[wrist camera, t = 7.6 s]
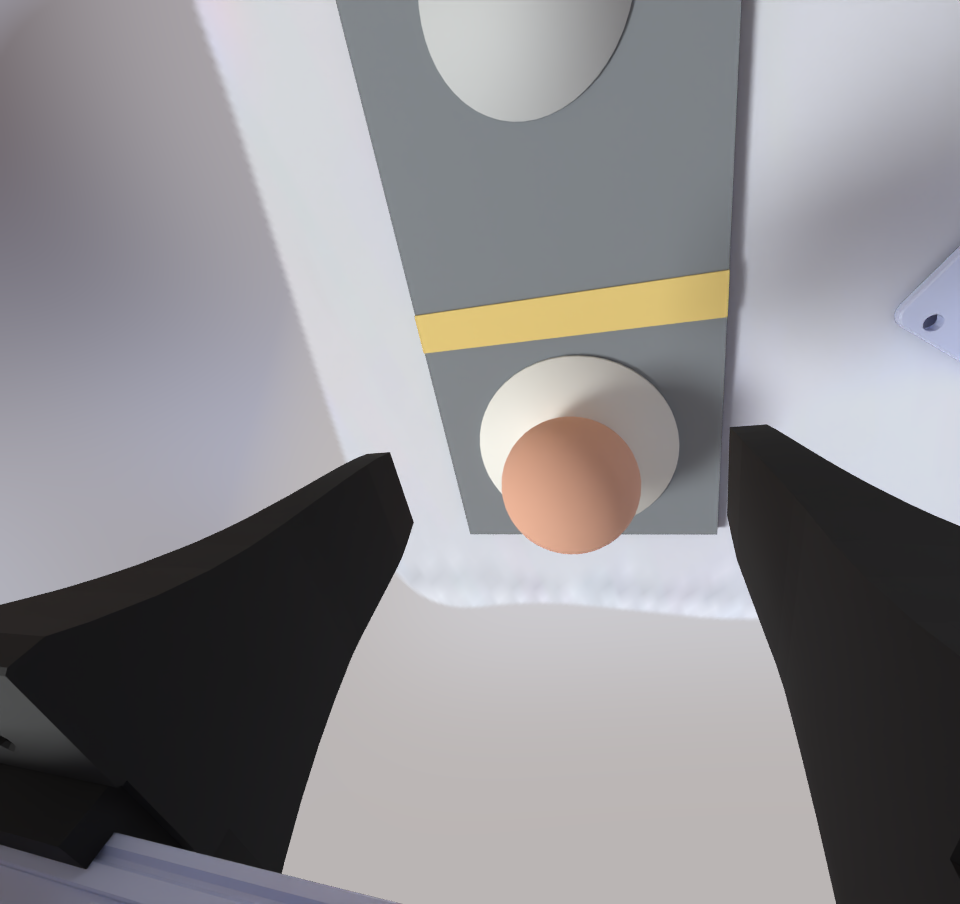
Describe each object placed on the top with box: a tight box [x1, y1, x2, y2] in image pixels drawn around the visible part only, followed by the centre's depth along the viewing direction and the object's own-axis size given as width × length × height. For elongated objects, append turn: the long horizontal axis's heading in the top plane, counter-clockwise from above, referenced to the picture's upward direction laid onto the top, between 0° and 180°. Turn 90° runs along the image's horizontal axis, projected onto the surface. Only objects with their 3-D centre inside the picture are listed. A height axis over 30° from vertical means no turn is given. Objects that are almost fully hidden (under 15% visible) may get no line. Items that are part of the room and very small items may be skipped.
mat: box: [336, 0, 741, 534], centre depth 17 cm, size 22×11×1 cm, turn 11°
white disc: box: [480, 355, 679, 515], centre depth 20 cm, size 8×8×1 cm
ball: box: [502, 417, 641, 554], centre depth 18 cm, size 5×5×5 cm
